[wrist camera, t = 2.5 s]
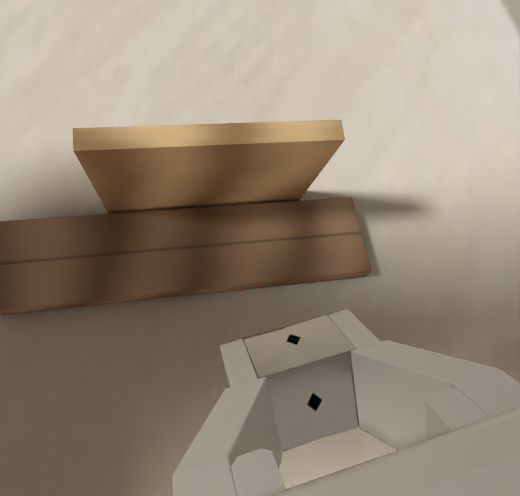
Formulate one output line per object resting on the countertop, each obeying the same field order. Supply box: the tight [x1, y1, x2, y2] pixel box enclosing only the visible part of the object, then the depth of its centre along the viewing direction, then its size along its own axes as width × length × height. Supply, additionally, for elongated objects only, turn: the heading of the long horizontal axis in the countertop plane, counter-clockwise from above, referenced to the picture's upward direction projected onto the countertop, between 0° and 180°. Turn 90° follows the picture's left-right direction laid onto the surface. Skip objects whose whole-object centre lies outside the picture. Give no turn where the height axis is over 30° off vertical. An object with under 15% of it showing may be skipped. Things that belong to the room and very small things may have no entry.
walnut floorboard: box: [0, 197, 371, 315], centre depth 30 cm, size 25×6×1 cm, turn 99°
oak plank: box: [73, 120, 345, 214], centre depth 27 cm, size 14×10×1 cm
